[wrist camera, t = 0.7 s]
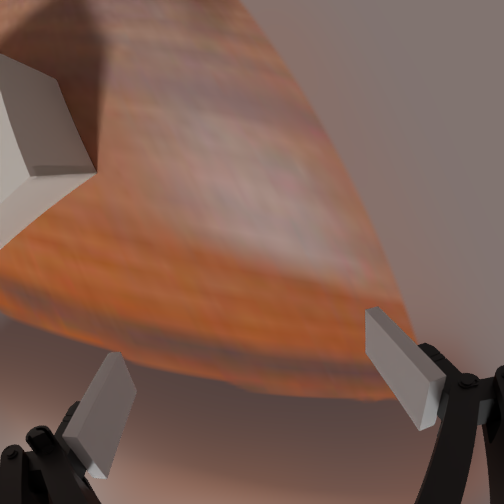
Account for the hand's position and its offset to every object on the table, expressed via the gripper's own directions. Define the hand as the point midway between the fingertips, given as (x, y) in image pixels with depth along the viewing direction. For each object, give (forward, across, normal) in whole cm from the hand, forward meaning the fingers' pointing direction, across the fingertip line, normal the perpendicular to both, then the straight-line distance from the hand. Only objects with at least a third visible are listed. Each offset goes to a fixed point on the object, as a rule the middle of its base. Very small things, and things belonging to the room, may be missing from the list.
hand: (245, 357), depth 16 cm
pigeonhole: (+27, -34, +16) cm, 46 cm away
